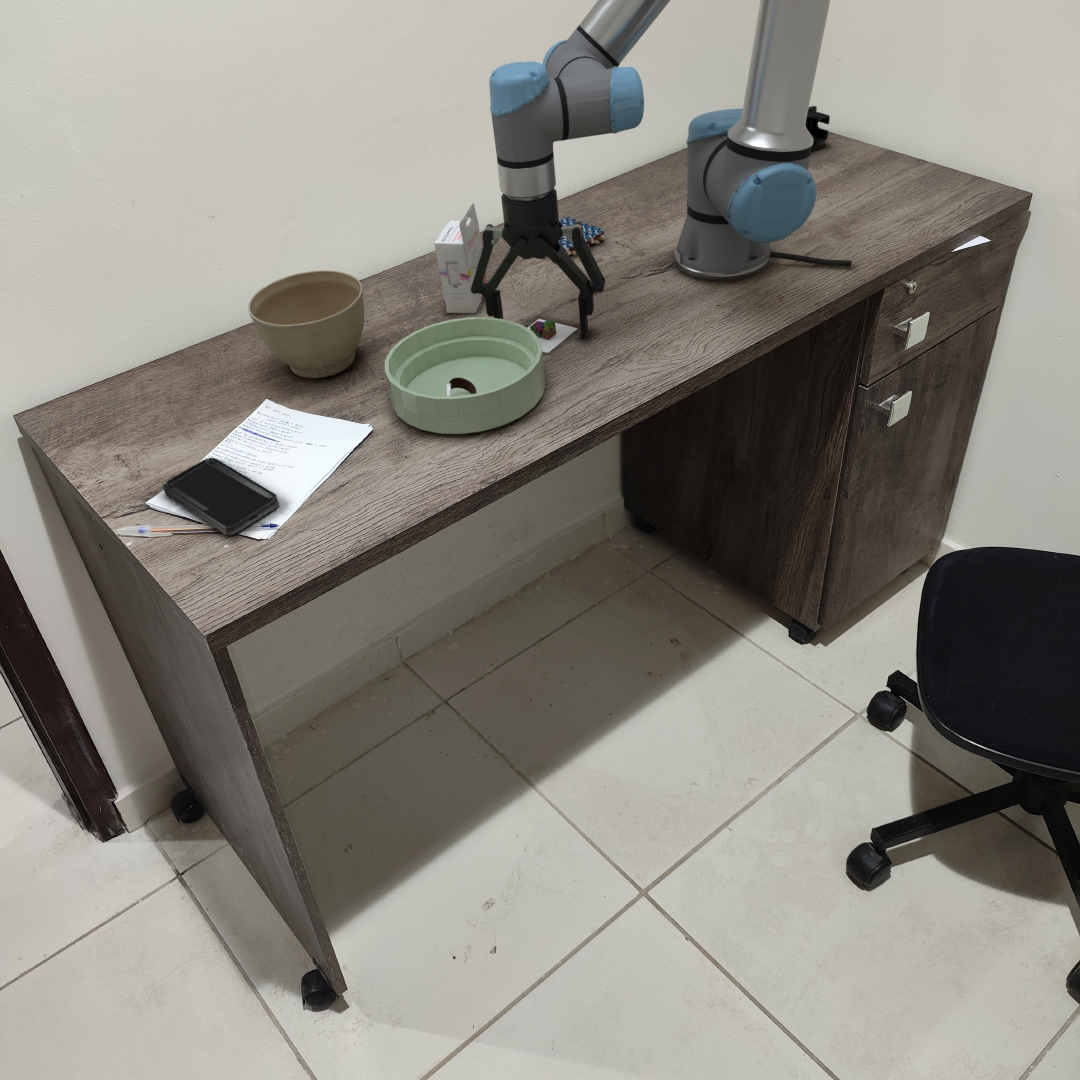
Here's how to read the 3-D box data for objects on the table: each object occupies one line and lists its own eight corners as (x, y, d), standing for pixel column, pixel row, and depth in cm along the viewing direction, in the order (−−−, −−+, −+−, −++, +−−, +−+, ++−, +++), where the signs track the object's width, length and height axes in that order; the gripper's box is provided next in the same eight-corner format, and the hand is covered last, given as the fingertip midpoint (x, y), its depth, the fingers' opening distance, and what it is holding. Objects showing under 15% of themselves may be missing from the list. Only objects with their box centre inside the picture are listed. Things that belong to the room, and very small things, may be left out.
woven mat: (522, 246, 169) (521, 234, 168) (566, 225, 174) (565, 214, 173) (562, 262, 163) (561, 250, 162) (607, 240, 168) (607, 229, 167)
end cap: (802, 137, 197) (805, 102, 192) (828, 145, 192) (832, 110, 188) (765, 150, 193) (767, 115, 189) (791, 159, 188) (794, 123, 184)
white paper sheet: (577, 328, 145) (576, 313, 144) (548, 353, 141) (546, 337, 139) (538, 318, 149) (537, 303, 147) (508, 342, 144) (506, 327, 142)
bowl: (555, 354, 140) (552, 316, 136) (532, 438, 125) (528, 399, 121) (414, 354, 144) (407, 317, 140) (374, 436, 128) (365, 397, 124)
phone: (211, 455, 126) (280, 497, 118) (213, 462, 127) (282, 504, 118) (158, 486, 122) (226, 531, 114) (161, 493, 123) (229, 538, 114)
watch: (445, 392, 134) (440, 370, 131) (478, 389, 134) (475, 366, 131) (444, 424, 128) (440, 400, 126) (480, 420, 128) (476, 396, 126)
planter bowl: (249, 365, 146) (228, 299, 139) (341, 325, 153) (325, 260, 146) (302, 405, 136) (282, 336, 129) (397, 360, 143) (383, 292, 136)
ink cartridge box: (459, 288, 159) (445, 200, 149) (488, 289, 158) (476, 200, 148) (445, 314, 153) (429, 223, 143) (475, 314, 152) (462, 223, 142)
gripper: (620, 177, 131) (625, 321, 145) (447, 182, 135) (468, 322, 149) (615, 199, 126) (621, 346, 140) (435, 204, 130) (458, 347, 144)
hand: (542, 334), depth 145 cm, fingers open, 12 cm apart
